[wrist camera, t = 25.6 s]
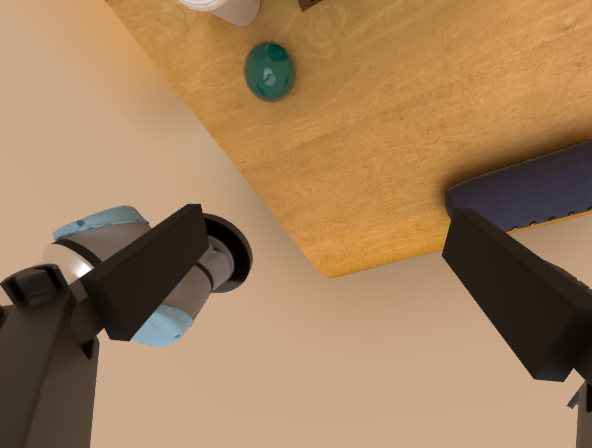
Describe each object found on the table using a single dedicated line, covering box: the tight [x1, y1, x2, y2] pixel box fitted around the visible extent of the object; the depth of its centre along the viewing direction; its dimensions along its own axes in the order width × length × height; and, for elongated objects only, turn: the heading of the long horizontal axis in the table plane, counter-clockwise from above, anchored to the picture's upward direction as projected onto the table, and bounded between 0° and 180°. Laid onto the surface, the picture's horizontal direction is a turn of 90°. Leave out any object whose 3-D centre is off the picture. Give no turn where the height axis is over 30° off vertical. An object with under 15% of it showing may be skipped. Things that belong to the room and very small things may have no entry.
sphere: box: [243, 40, 297, 103], centre depth 37 cm, size 8×8×8 cm
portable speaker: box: [445, 139, 592, 232], centre depth 38 cm, size 25×10×10 cm, turn 113°
